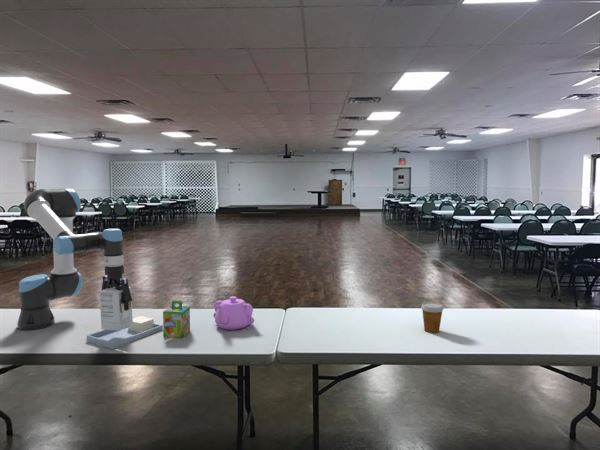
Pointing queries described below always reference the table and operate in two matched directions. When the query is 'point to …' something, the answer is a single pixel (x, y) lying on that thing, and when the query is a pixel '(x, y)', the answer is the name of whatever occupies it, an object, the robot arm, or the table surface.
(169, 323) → the chalk box
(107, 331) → the blue-grey tray
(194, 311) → the table surface
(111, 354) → the table surface
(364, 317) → the table surface
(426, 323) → the disposable coffee cup
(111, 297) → the supplement box
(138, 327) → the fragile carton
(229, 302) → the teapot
